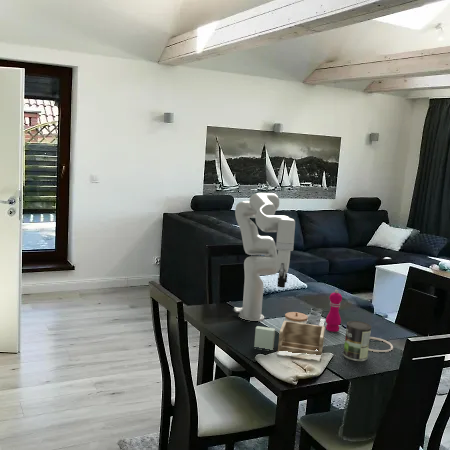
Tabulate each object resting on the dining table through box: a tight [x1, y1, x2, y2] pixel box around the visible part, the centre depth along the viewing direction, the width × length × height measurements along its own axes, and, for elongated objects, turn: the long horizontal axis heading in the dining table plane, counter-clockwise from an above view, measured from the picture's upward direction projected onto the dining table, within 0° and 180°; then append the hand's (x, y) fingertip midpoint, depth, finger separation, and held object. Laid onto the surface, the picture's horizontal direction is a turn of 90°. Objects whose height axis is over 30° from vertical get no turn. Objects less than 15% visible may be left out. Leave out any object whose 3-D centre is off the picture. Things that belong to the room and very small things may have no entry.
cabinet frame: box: [277, 320, 326, 355], centre depth 235 cm, size 18×16×10 cm
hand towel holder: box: [368, 332, 394, 353], centre depth 250 cm, size 17×4×21 cm
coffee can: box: [342, 320, 372, 362], centre depth 234 cm, size 10×10×14 cm
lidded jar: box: [284, 311, 309, 324], centre depth 260 cm, size 11×11×9 cm
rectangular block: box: [253, 325, 276, 351], centre depth 236 cm, size 8×3×9 cm, turn 77°
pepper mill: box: [325, 289, 343, 333], centre depth 265 cm, size 7×7×20 cm
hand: (282, 284), depth 242 cm, fingers open, 9 cm apart
